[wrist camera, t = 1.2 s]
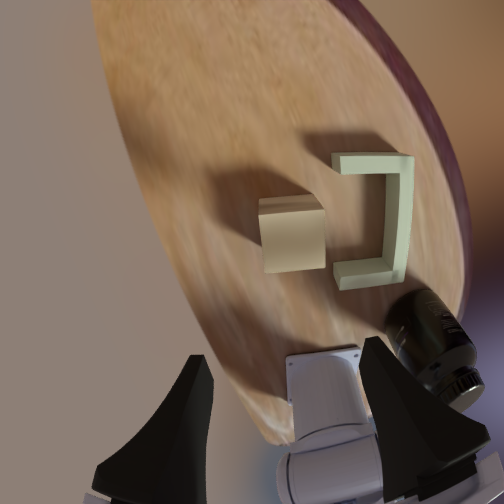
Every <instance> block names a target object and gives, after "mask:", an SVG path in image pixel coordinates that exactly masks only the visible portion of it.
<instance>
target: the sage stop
mask: <svg viewBox="0 0 504 504" xmlns="http://www.w3.org/2000/svg"><path fill="white" fill-rule="evenodd" d="M331 161H332V169H333V170H334V171H336V172H338V173H339V174H341V175H344V174H374V173H386V204H385V225H384V239H383V251H382V257H378V258H369V259H360V260H351V261H341V262H333V276H334V278H335V280H336V283H337V285H338V287H339V290H340V291H341V290H350V289H357V288H365V287H373V286H380V285H387V284H394V283H400V282H403V281H404V275H405V269H406V263H407V256H408V249H409V241H410V232H411V221H412V209H413V192H414V156H411V155H407V154H403V153H399V152H338V153H331Z"/></svg>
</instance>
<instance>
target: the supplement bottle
mask: <svg viewBox="0 0 504 504" xmlns="http://www.w3.org/2000/svg"><path fill="white" fill-rule="evenodd" d="M385 332H386V335H387V337H388V339H389V342H390V344H391V346H392V348H393V350H394V352H395V355H396V357H397V359H398V360H399V361H400V362H401V363H402V364H403V365H404V366H405V368H406V369H407V370H408V371H409V372H410V373H411V374H412V375H413V376H414V377H415V378H416V379H417V380H418V381H419V382H420V383H421V384H422V385H423V386H424V387H426V388H427V389H428V390H429V391H430V392H431V393H433V394H434V395H435V396H436V397H437V398H439V399H440V400H441V401H443V402H444V403H446V404H447V405H449V406H450V407H452V408H453V409H455V410H456V411H458V412H459V413H462V412H463V411H464V410H466V409H467V408H468V407H470V406H471V405H472V404H473V403H474V402H475V401H476V400H477V399H478V398H479V397H480V396H481V394H482V393H483V391H484V388H485V385H484V383H483V381H482V379H481V377H480V374H479V372H478V370H477V369H475V368H474V366H475V363H476V359H477V352H476V348H475V346H474V344H473V342H472V341H471V339H470V338H469V336H468V335H467V334H466V332H465V331H464V329H463V328H462V326H461V325H460V324H459V322H458V321H457V320H456V318H455V317H454V316H453V314H452V313H451V312H450V310H449V309H448V308H447V306H446V305H445V304H444V302H443V301H442V300H441V299H440V298H439V296H438V295H437V294H436V293H434V292H433V291H431V290H427V289H421V290H416V291H413V292H410V293H408V294H407V295H405V296H403V297H402V298H401V299H400V300H398V301H397V302H396V303H395V305H394V306H393V307H392V308H391V310H390V311H389V313H388V315H387V318H386V321H385Z"/></svg>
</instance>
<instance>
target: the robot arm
mask: <svg viewBox="0 0 504 504" xmlns="http://www.w3.org/2000/svg"><path fill="white" fill-rule="evenodd" d="M355 354H356V355H355ZM360 355H361V349H360V347H354V348H347V349H341V350H334V351H326V352H319V353H310V354H301V355H291V356H288V357H286V376H287V396H288V405H290V406H293V419H294V433H295V442H292V443H290V452H288V453H285V454H284V455H283V456H282V458H281V459H280V461H279V462H278V465H277V472H276V481H277V488H278V493H279V497H280V499H281V502H282V503H283V504H488V503H489V502H490V501H492V500H493V499H494V498H496V497H497V496H499V495H500V494H501V493H502V492H504V471H503V468H502V465H501V461H500V459H499V455H498V453H497V452H494V453H493V454H491V455H490V456H488V457H487V458H485V459H484V460H482V461H480V462H479V463H477V464H476V465H475V463H474V461H475V460H476V454H475V453H477V452H478V451H479V450H480V449H482V448H483V447H485V446H486V445H487V444H488V443H489V442H490V440H491V439H490V436H489V433H488V431H487V429H486V427H485V425H483V424H481V423H479V422H476V421H474V420H472V419H470V418H468V417H466V416H464V415H463V414H461V413H459V412H458V411H456V410H455V409H453V408H452V407H450V406H449V405H447V404H446V403H444V402H443V401H441V400H440V399H439V398H437V397H436V396H435V395H434V394H433V393H431V392H430V391H429V390H428V389H427V388H426V387H424V386H423V385H422V384H421V383H420V382H419V381H418V380H417V379H416V378H415V377H414V376H413V375H412V374H411V373H410V372H409V371H408V370H407V369H406V368H405V366H404V365H403V364H402V363H401V362H400V361H399V360H398V359H397V358H396V356H395V355H394V354H393V353H392V352H391V351H390V349H389V348H388V347H387V346H386V345H385V343H384V342H383V341H382V340H381V339H380V337H378V336H375V337H370V338H365V343H364V347H363V351H362V355H361V358H360ZM359 360H360V362H359ZM358 364H359V370H360V375H361V380H362V384H363V388H364V391H365V394H366V397H367V400H368V403H369V406H370V409H371V412H372V415H373V418H374V421H375V425H376V429H377V430H376V431H375V435H374V432H373V428H372V424H371V423H369V421H368V417H367V414H366V410H365V406H364V402H363V399H362V395H361V392H360V388H359V385H358V381H357V378H356V373H357V369H358ZM213 385H214V379H213V377H212V374H211V372H210V369H209V367H208V364H207V362H206V359H205V357H204V355H190V356H189V358H188V360H187V362H186V364H185V366H184V367H183V369H182V371H181V373H180V375H179V376H178V378H177V380H176V382H175V383H174V385H173V386H172V388H171V390H170V391H169V393H168V395H167V396H166V398H165V399H164V401H163V402H162V403H161V405H160V406H159V408H158V409H157V411H156V412H155V413H154V414H153V416H152V417H151V418H150V420H149V421H148V422H147V423H146V424H145V425H144V426H143V427H142V429H141V430H140V431H139V432H138V433H137V434H136V435H135V436H134V437H133V438H132V439H131V440H130V441H129V442H128V443H126V444H125V445H124V446H123V447H122V448H121V449H120V450H118V451H117V452H116V453H115V454H113V455H112V456H111V457H109V458H108V459H106V460H105V461H104V462H102V463H101V464H99V465H98V466H97V468H96V471H95V475H94V479H93V483H92V489H93V490H95V491H97V492H99V493H101V494H104V495H106V496H108V497H111V498H112V499H111V502H109V501H107V500H104V499H101V498H98V497H96V496H93V495H91V494H88V493H85V496H84V501H83V504H207V501H206V480H205V479H206V475H205V474H206V472H205V471H206V468H205V466H206V443H207V435H208V429H209V423H210V416H211V410H212V404H213V389H214V386H213ZM403 497H404V498H405V499H404V500H401V501H398V502H397V499H400V498H403Z"/></svg>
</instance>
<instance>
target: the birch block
mask: <svg viewBox="0 0 504 504" xmlns="http://www.w3.org/2000/svg"><path fill="white" fill-rule="evenodd" d="M258 217H259V225H260V234H261V242H262V251H263V260H264V269H265V274H266V273H277V272H288V271H298V270H308V269H318V268H325V209H324V208H323V206H322V205H321V204H320V202H319V201H318V200H317V198H316V197H315V196H314V194H306V195H294V196H283V197H272V198H262V199H259V210H258Z"/></svg>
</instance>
